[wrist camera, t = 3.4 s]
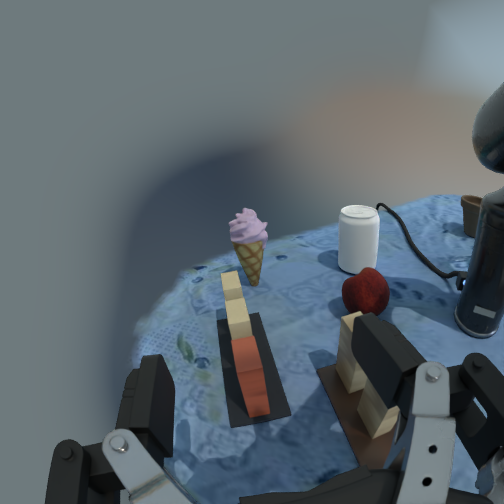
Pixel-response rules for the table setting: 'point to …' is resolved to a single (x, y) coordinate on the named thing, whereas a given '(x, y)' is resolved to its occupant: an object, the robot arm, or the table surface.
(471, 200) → the flower pot
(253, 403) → the orange rectangular block
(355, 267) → the beverage can
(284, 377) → the table surface
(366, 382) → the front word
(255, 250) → the ice cream cone
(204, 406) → the table surface
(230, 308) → the back word
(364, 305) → the apple
